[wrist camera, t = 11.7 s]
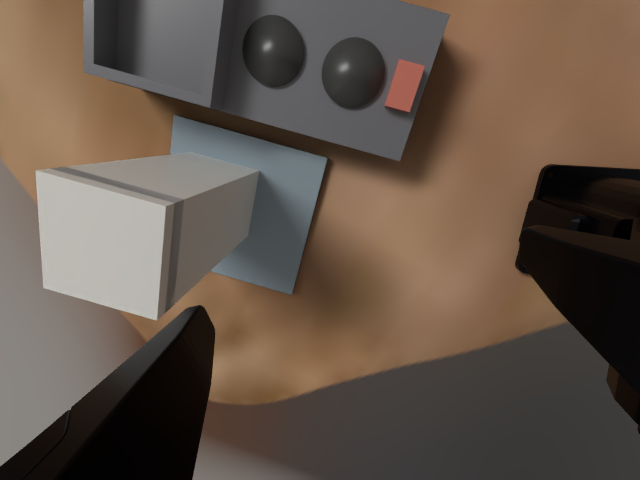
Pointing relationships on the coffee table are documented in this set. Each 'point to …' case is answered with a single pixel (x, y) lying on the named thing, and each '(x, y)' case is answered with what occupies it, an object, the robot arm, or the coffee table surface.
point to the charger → (140, 227)
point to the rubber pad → (262, 200)
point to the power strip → (276, 61)
